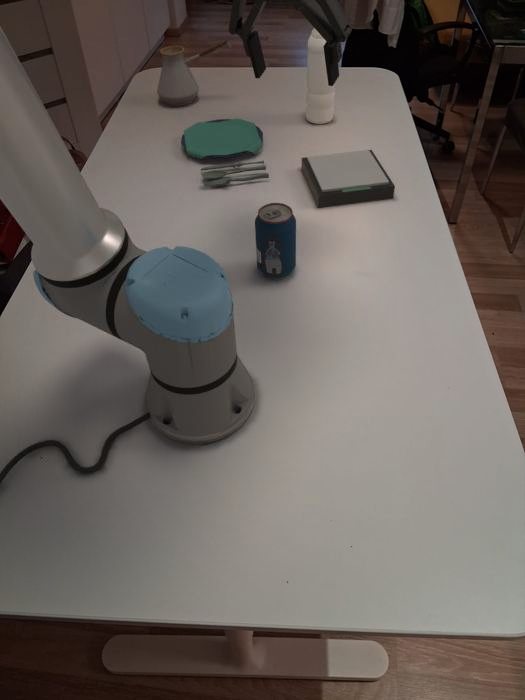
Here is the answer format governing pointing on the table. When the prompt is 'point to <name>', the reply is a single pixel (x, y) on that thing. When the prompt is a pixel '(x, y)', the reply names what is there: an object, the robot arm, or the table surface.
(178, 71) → the coffee pot
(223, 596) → the table surface
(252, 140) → the cutlery set
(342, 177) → the scale
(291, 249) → the soda can
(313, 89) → the water bottle
